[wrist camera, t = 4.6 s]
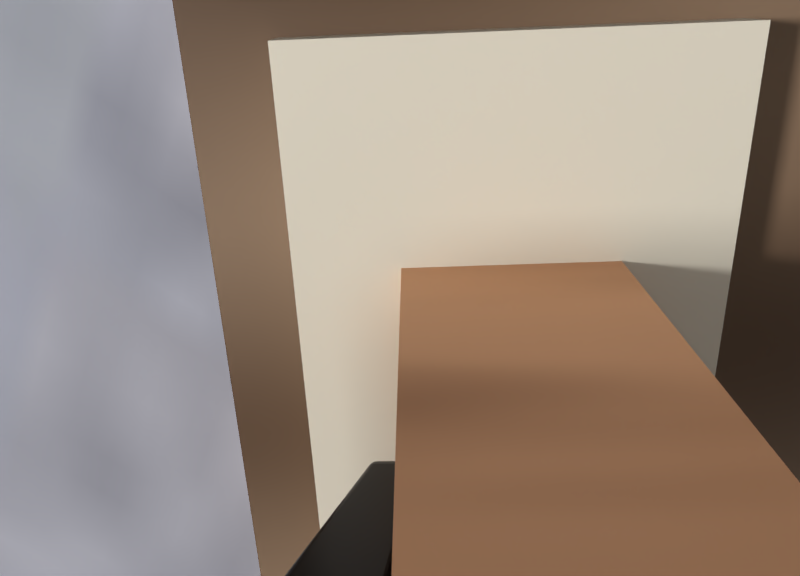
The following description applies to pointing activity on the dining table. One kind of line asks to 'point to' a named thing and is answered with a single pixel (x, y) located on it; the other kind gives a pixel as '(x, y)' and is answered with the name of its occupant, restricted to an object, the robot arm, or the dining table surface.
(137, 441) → the dining table surface
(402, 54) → the stub
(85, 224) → the dining table surface
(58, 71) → the dining table surface
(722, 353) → the ticket board
